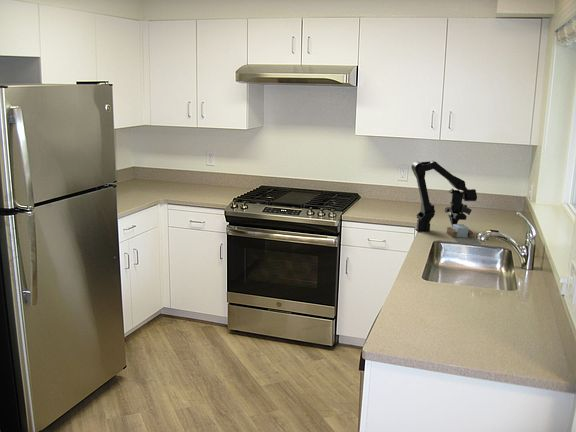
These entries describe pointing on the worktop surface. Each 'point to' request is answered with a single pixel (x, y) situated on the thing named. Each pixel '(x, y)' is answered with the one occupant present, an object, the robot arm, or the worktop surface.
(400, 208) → the worktop surface
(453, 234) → the chute
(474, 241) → the pad
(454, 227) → the block
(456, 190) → the robot arm
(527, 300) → the worktop surface
